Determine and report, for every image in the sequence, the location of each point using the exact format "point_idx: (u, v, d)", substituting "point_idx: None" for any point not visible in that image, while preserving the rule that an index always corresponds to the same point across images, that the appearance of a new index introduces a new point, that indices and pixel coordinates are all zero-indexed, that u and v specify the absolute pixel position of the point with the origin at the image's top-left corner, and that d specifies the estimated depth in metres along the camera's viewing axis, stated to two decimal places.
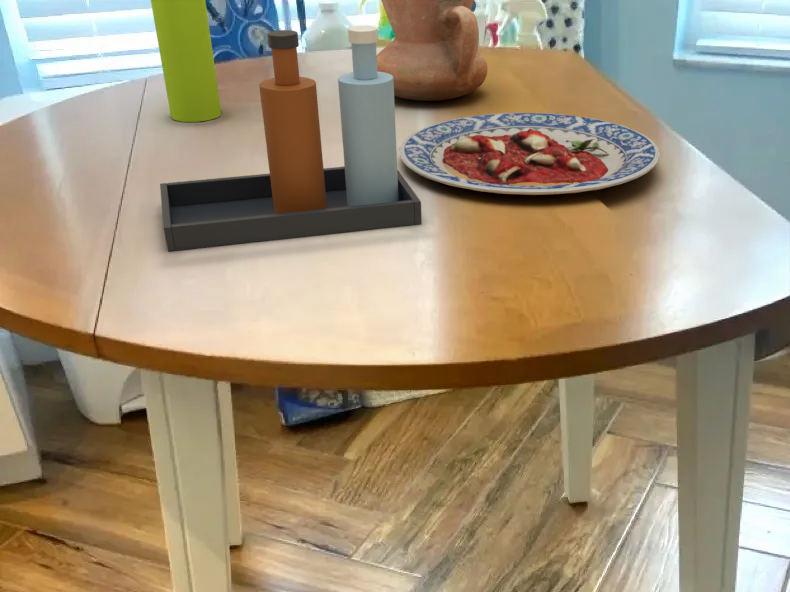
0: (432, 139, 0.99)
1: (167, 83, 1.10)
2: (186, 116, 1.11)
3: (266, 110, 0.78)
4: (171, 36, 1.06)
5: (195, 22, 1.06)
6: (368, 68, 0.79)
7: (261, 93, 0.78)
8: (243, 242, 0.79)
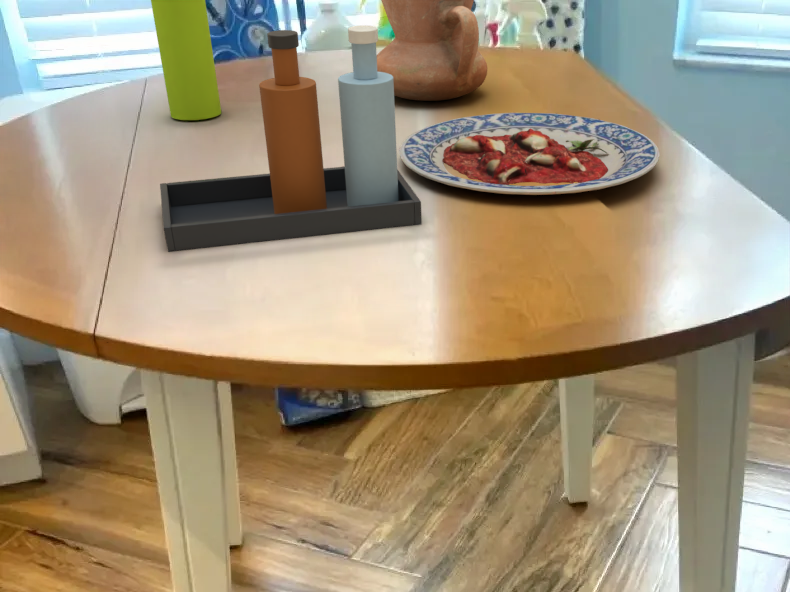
0: (432, 139, 0.99)
1: (167, 81, 1.10)
2: (186, 114, 1.11)
3: (266, 110, 0.78)
4: (170, 33, 1.07)
5: (195, 20, 1.07)
6: (368, 68, 0.79)
7: (261, 93, 0.78)
8: (243, 242, 0.79)
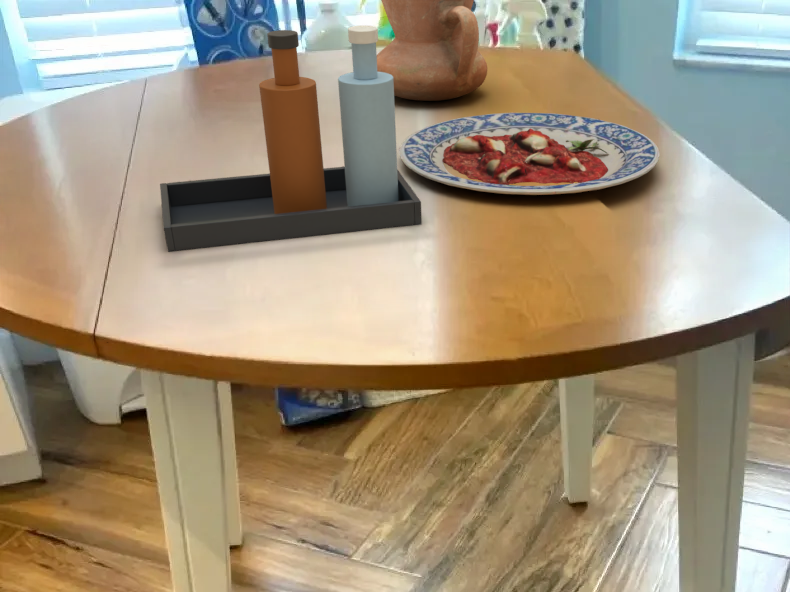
0: (432, 139, 0.99)
1: None
2: None
3: (266, 110, 0.78)
4: None
5: None
6: (368, 68, 0.79)
7: (261, 93, 0.78)
8: (243, 242, 0.79)
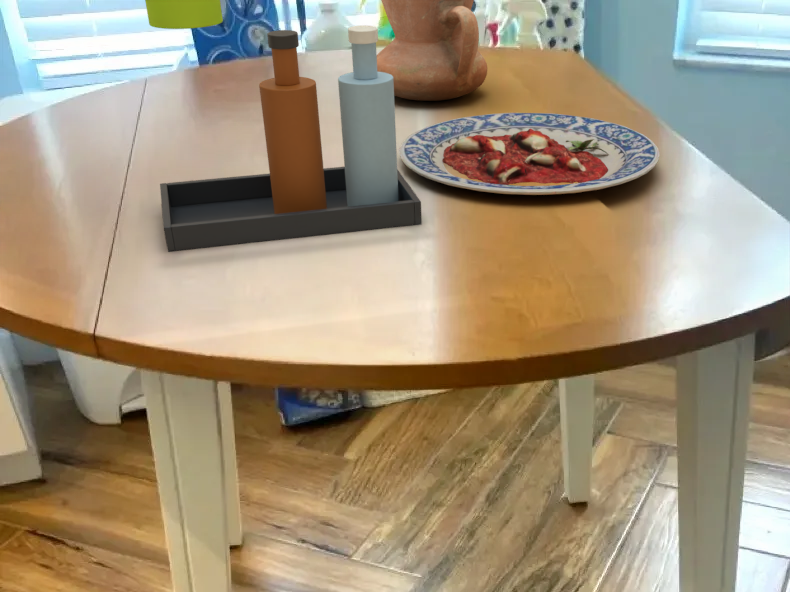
0: (432, 139, 0.99)
1: None
2: (171, 20, 0.76)
3: (266, 110, 0.78)
4: None
5: None
6: (368, 68, 0.79)
7: (261, 93, 0.78)
8: (243, 242, 0.79)
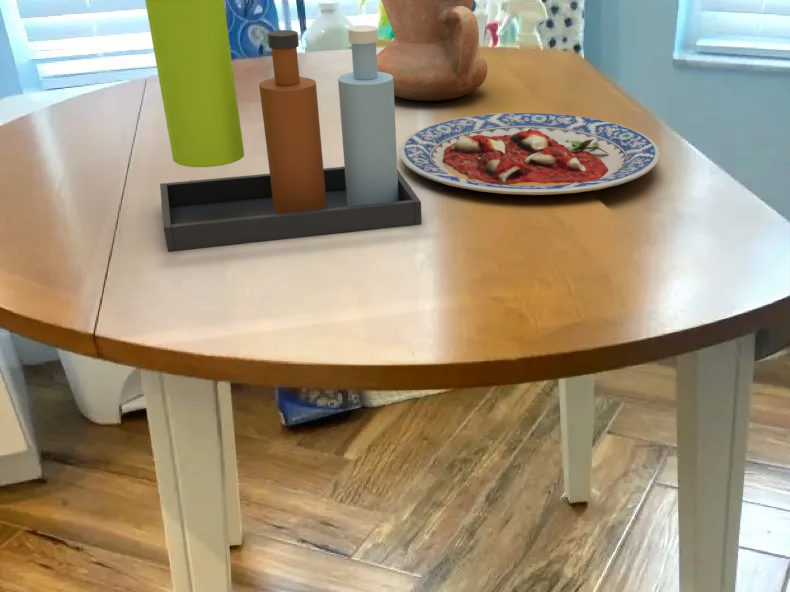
0: (432, 139, 0.99)
1: (168, 113, 0.77)
2: (194, 159, 0.78)
3: (266, 110, 0.78)
4: (173, 45, 0.73)
5: (208, 26, 0.73)
6: (368, 68, 0.79)
7: (261, 93, 0.78)
8: (243, 242, 0.79)
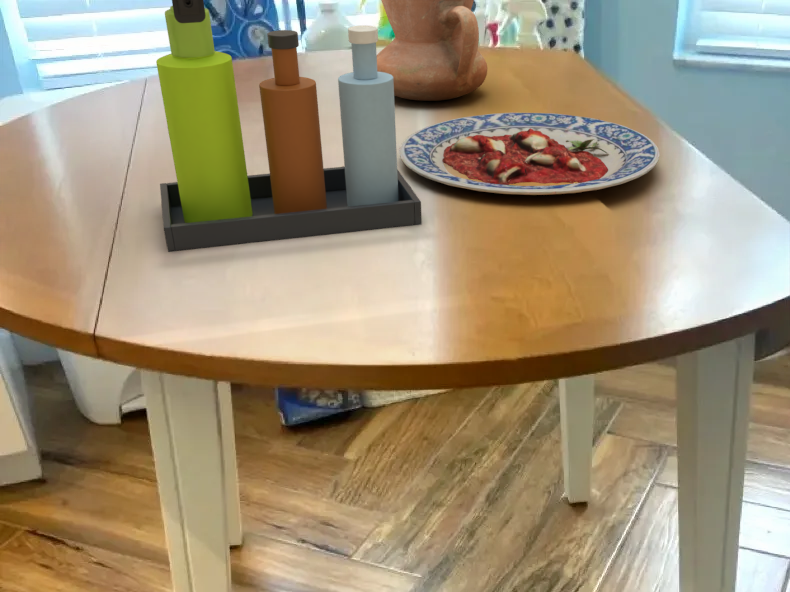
0: (432, 139, 0.99)
1: (179, 178, 0.80)
2: None
3: (266, 110, 0.78)
4: (185, 117, 0.76)
5: (219, 98, 0.76)
6: (368, 68, 0.79)
7: (261, 93, 0.78)
8: (243, 242, 0.79)
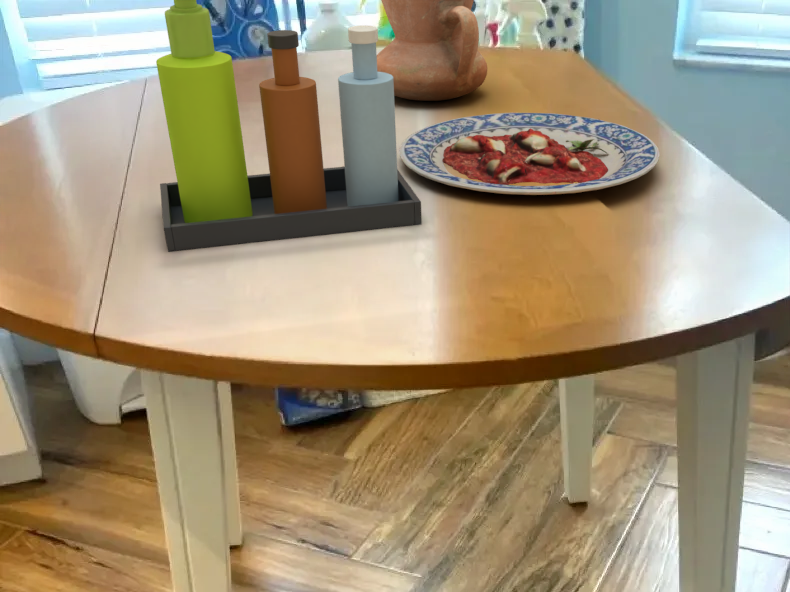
0: (432, 139, 0.99)
1: (179, 178, 0.80)
2: None
3: (266, 110, 0.78)
4: (185, 117, 0.76)
5: (219, 98, 0.76)
6: (368, 68, 0.79)
7: (261, 93, 0.78)
8: (243, 242, 0.79)
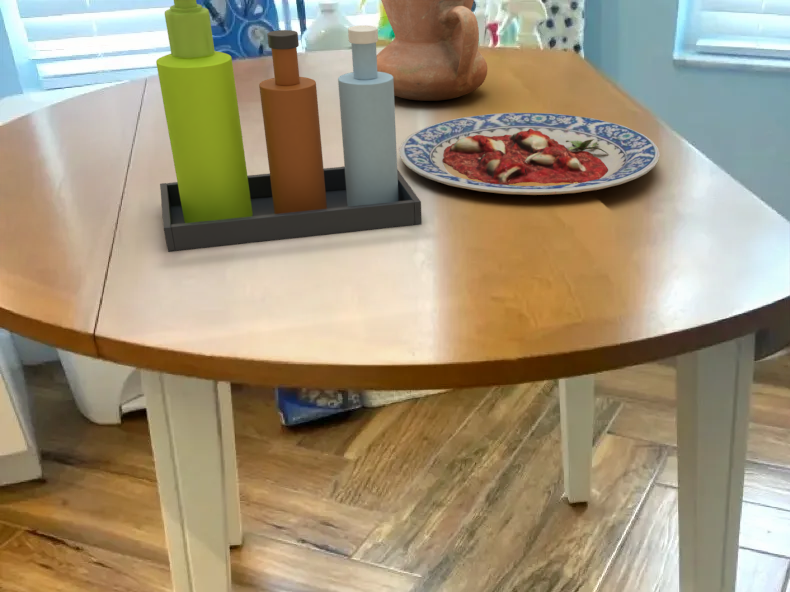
0: (432, 139, 0.99)
1: (179, 178, 0.80)
2: None
3: (266, 110, 0.78)
4: (185, 117, 0.76)
5: (219, 98, 0.76)
6: (368, 68, 0.79)
7: (261, 93, 0.78)
8: (243, 242, 0.79)
